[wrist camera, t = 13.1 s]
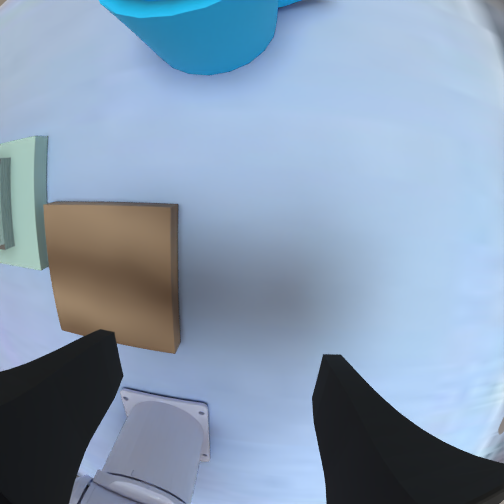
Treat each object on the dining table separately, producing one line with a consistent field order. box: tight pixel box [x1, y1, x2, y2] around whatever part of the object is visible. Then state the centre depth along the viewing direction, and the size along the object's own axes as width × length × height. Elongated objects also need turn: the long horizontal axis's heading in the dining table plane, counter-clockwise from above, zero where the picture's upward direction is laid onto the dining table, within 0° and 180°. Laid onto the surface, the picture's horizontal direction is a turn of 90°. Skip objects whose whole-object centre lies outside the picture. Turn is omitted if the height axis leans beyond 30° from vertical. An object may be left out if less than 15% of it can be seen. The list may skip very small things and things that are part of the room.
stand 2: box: [43, 202, 180, 354], centre depth 18 cm, size 10×10×2 cm
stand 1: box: [0, 136, 49, 270], centre depth 17 cm, size 10×10×2 cm
